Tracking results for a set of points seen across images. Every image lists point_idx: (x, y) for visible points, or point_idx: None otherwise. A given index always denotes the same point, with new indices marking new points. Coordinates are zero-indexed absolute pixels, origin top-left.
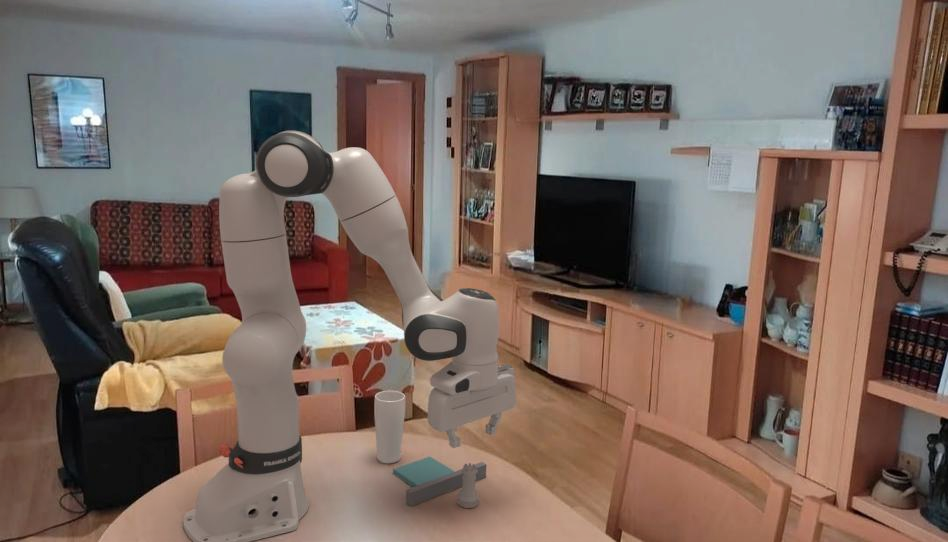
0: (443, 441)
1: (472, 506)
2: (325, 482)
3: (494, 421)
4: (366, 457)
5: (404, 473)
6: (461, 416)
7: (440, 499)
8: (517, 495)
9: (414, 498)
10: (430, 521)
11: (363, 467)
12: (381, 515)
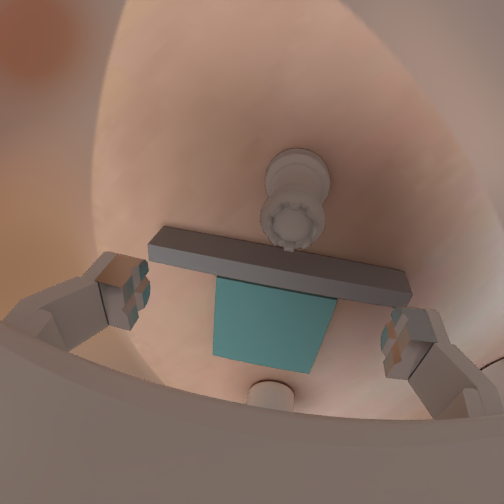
0: (146, 360)
1: (312, 152)
2: (402, 402)
3: (78, 307)
4: (295, 410)
5: (308, 353)
6: (494, 491)
7: (333, 242)
8: (163, 109)
9: (398, 279)
10: (430, 198)
11: (326, 399)
12: (458, 290)
